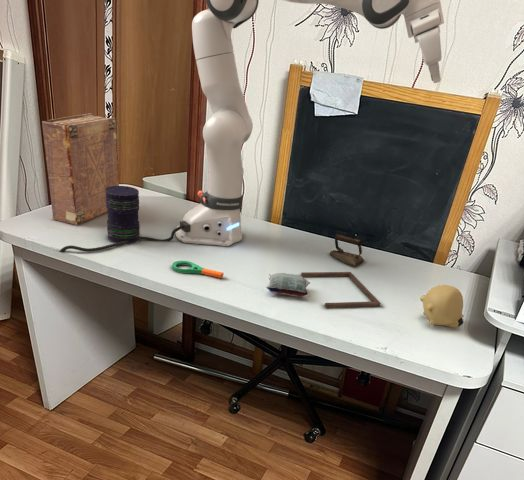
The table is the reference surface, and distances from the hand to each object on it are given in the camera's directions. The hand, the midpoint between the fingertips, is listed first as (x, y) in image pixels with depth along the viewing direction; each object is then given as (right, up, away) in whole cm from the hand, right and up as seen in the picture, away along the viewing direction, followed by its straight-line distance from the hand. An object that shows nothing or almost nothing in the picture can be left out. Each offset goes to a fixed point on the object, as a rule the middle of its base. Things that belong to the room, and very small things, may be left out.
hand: (436, 81), depth 132 cm
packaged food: (-39, -55, +7) cm, 68 cm away
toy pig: (+1, -64, +1) cm, 64 cm away
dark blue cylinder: (-90, -36, +26) cm, 100 cm away
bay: (-24, -54, +11) cm, 60 cm away
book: (-106, -24, +41) cm, 117 cm away
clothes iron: (-19, -41, +32) cm, 56 cm away
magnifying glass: (-65, -49, +10) cm, 82 cm away
